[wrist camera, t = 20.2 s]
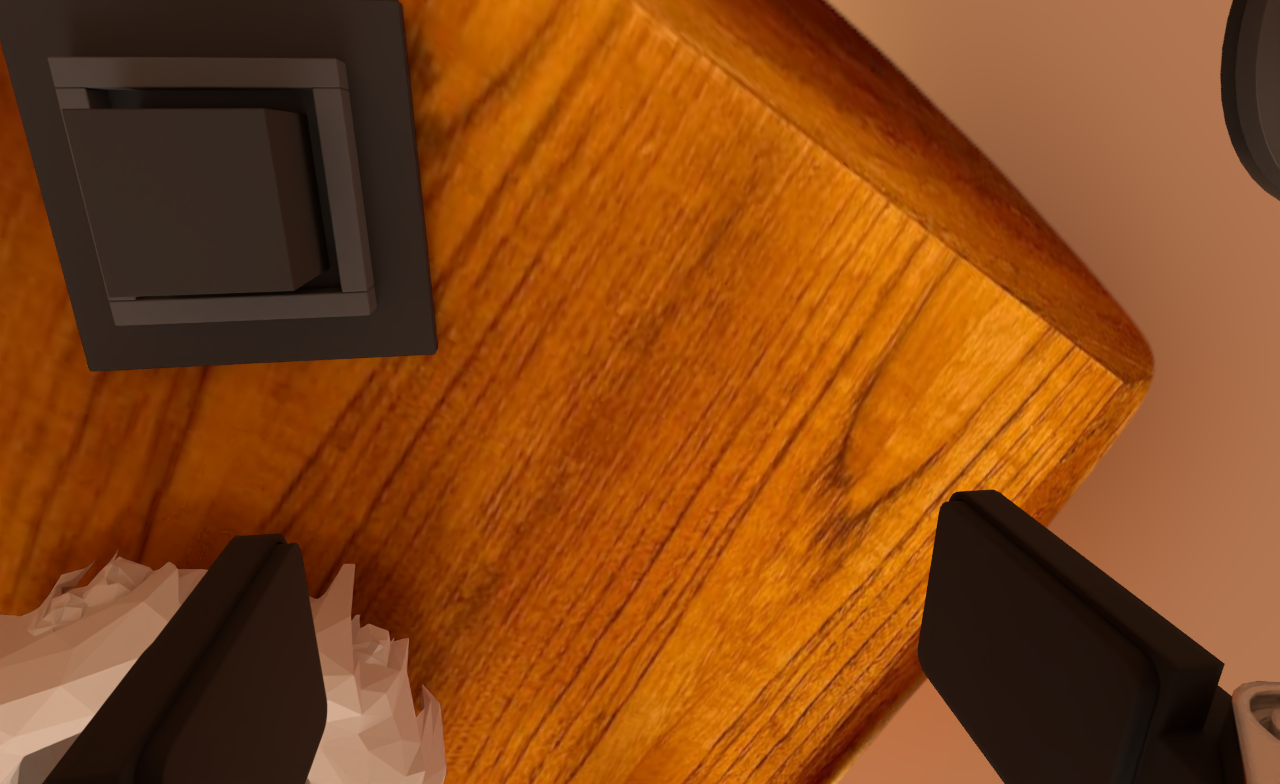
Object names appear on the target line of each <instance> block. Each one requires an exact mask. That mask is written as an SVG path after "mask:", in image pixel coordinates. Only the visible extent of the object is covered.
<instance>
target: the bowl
mask: <svg viewBox="0 0 1280 784" xmlns="http://www.w3.org/2000/svg"><path fill="white" fill-rule="evenodd" d="M117 554H118V551H117V552H116V554H115V555H114V556H113V558H112V559H111V561H110V562H109V563H108V564H107V565H106V566H105V567H104V568H103V569H102V570H101V571H100V572H99V573H98V574H97V575H96V577H95V578H94V579H93V580H92V581H91V582H90V583H89V584H88V585H87V586H83V587H79V588H74V589H71V590H69V591H67V592H65V593H63V594H62V592H64V591H66V590H68V589H70V588H72V587H74V586H76V585H77V584H78V582H79V581H80V580H81V579H82V577H83V576H84V575H85V574H86V572H87V571H88V570H89V568H90V567H91V566H92V564H93V563H94V562H95V561H93V562H92V563H91V564H90V565H89V566H88V567H86V568H84V569H80V570H76V571H73V572H69V573H65V574H62V575H61V577H60V578H59V580H58V581H57V583H56V585H55V586H54V588H53V589H52V591H51V593H50V594H49V596H48V597H47V598H46V599H45V601H44V602H43V603H42V604H41V605H40V607H39V608H37V609H36V610H34V611H32V612H30V613H27V614H25V615H23V616H14V615H0V784H42V783H43V782H44V780H45V779H46V778H47V776H48V775H49V774H50V773H51V771H52V770H53V769H54V767H55V766H56V765H57V763H58V762H59V761H60V760H61V758H62V757H63V756H64V754H65V753H66V752H67V750H68V749H69V748H70V747H71V745H72V744H73V743H74V741H75V740H76V739H77V737H78V736H79V735H80V734H81V732H82V731H83V730H84V728H85V727H86V726H87V724H88V723H89V722H90V721H91V719H92V718H93V717H94V715H95V714H96V713H97V711H98V710H99V709H100V708H101V706H102V705H103V704H104V702H105V701H106V700H107V698H108V697H109V696H110V695H111V693H112V692H113V691H114V689H115V688H116V687H117V685H118V684H119V683H120V682H121V680H122V679H123V678H124V676H125V675H126V674H127V672H128V671H129V670H130V669H131V667H132V666H133V665H134V663H135V662H136V661H137V659H138V658H139V657H140V656H141V654H142V653H143V652H144V651H145V650H146V649H147V648H148V647H149V646H150V645H151V644H152V643H153V642H154V640H155V639H156V638H157V636H158V635H159V634H160V632H161V631H162V630H163V629H164V627H165V626H166V625H167V623H168V622H169V621H170V619H171V618H172V617H173V615H174V614H175V613H176V612H177V610H178V609H179V608H180V606H181V605H182V604H183V602H184V601H185V600H186V598H187V597H188V596H189V595H190V593H191V592H192V591H193V589H194V588H195V587H196V585H197V584H198V583H199V581H200V580H201V579H202V578H203V576H204V575H205V574H206V572H207V571H208V570H205V569H177V567H176V566H175V565H174V564H173V563H171V562H167V563H166V564H165V565H164V566H163V567H161V568H160V569H158V570H154V571H153V570H152V569H151V568H150V567H148V566H145V565H142V564H139V563H136V562H133V561H130V560H127V559H124V558H122V557H120V556H119V557H118V558H117V559H116V557H117ZM115 559H116V560H115ZM354 574H355V564H343V566H342V567H341V569H340V571H339V572H338V574H337V576H336V577H335V579H334V580H333V582H332V584H331V585H330V587H329V588H328V590H327V592H326V593H325V594H324V595H322V596H321V597H320V598H318V599H315V598H313V597H310V596H309V598H310V604H311V610H312V616H313V622H314V627H315V633H316V639H317V645H318V651H319V657H320V662H321V668H322V674H323V680H324V686H325V692H326V697H327V721H326V726H325V730H324V733H323V736H322V739H321V741H320V744H319V747H318V750H317V752H316V755H315V758H314V761H313V764H312V766H311V769H310V772H309V775H308V777H307V780H306V783H305V784H443V783H444V779H445V775H446V758H445V748H444V738H443V728H442V718H441V708H440V703H439V702H438V700H437V699H436V698H435V697H434V696H433V695H432V694H431V693H430V692H429V691H428V690H427V689H426V688H425V686H424V685H423V684H422V692H421V712H420V714H419V715H418V716H417V717H416V715H415V710H414V705H413V700H412V695H411V689H410V684H409V679H408V674H407V662H408V646H409V638H403V639H400V640H397V641H394V638H395V637H394V638H393V640H392V641H391V642H390V636H389V631H387V630H385V629H382V628H379V627H377V626H374V625H371V624H367V625H365V626H364V627H362V628H360V615H355V617H354V618H353V620H352V621H351V610H352V598H353V586H354Z"/></svg>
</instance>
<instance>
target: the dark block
mask: <svg viewBox="0 0 1280 784" xmlns="http://www.w3.org/2000/svg"><path fill="white" fill-rule="evenodd" d="M62 113H63V117H64V121H65V125H66V129H67V133H68V137H69V141H70V145H71V149H72V153H73V157H74V161H75V165H76V168H77V172H78V176H79V180H80V184H81V188H82V192H83V196H84V200H85V204H86V208H87V212H88V216H89V220H90V224H91V228H92V232H93V236H94V240H95V244H96V248H97V252H98V256H99V260H100V264H101V268H102V272H103V276H104V280H105V284H106V288H107V292H108V296H109V297H110V298H114V297H141V296H168V295H196V294H223V293H250V292H278V291H294V290H296V289H297V288H299V287H301V286H302V285H304V284H305V283H307V282H308V281H310V280H312V279H313V278H315V277H316V276H318V275H319V274H321V273H323V272H324V271H326V270H327V269H329V261H328V254H327V247H326V241H325V234H324V227H323V220H322V214H321V207H320V200H319V194H318V187H317V180H316V173H315V167H314V160H313V153H312V147H311V140H310V133H309V127H308V120H307V115H306V114H301V113H294V112H287V111H280V110H273V109H265V108H142V109H62Z"/></svg>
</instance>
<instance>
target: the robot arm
mask: <svg viewBox="0 0 1280 784" xmlns="http://www.w3.org/2000/svg"><path fill="white" fill-rule="evenodd" d="M918 657H919V661H920V665H921V667H922V670H923V671H924V673H925V675H926V676H927V678H928V679H929V680H930V682H931V683H932V684H933V686H934V687H935V689H936V690H937V691H938V693H939V694H940V695H941V697H942V698H943V699H944V701H945V702H946V704H947V705H948V706H949V708H950V709H951V711H952V712H953V713H954V715H955V716H956V717H957V719H958V720H959V721H960V723H961V724H962V726H963V727H964V728H965V730H966V731H967V732H968V734H969V735H970V737H971V738H972V739H973V741H974V742H975V744H976V745H977V746H978V747H979V749H980V750H981V752H982V753H983V754H984V756H985V757H986V759H987V760H988V761H989V763H990V764H991V766H992V767H993V768H994V770H995V771H996V772H997V774H998V775H999V777H1000V778H1001V779H1002V781H1003V782H1004V783H1005V784H1280V683H1279V682H1266V681H1265V682H1264V681H1256V682H1250V683H1245V684H1242V685H1241V686H1239V687H1238V688H1237V689H1235V690H1234V692H1233V695H1232V696H1231V695H1229V694H1228V693H1227V692H1226V691H1224V690H1223V689H1222V688H1221V687H1219V686H1218V682H1219V679H1220V676H1221V673H1222V670H1223V667H1224V663H1223V662H1221V661H1220V660H1219V659H1217V658H1216V657H1215V656H1214V655H1212V654H1211V653H1210V652H1208V651H1207V650H1206V649H1204V648H1203V647H1202V646H1200V645H1199V644H1198V643H1196V642H1195V641H1194V640H1193V639H1191V638H1190V637H1189V636H1187V635H1186V634H1184V633H1183V632H1182V631H1181V630H1179V629H1178V628H1177V627H1175V626H1174V625H1173V624H1172V623H1170V622H1169V621H1168V620H1166V619H1165V618H1164V617H1162V616H1161V615H1160V614H1158V613H1157V612H1156V611H1154V610H1153V609H1152V608H1151V607H1149V606H1148V605H1146V604H1145V603H1144V602H1143V601H1141V600H1140V599H1138V598H1137V597H1136V596H1135V595H1133V594H1132V593H1131V592H1129V591H1128V590H1127V589H1126V588H1124V587H1123V586H1122V585H1120V584H1119V583H1117V582H1116V581H1115V580H1114V579H1112V578H1111V577H1109V576H1108V575H1107V574H1106V573H1104V572H1103V571H1102V570H1101V569H1099V568H1098V567H1097V566H1095V565H1094V564H1093V563H1091V562H1090V561H1089V560H1087V559H1086V558H1085V557H1083V556H1082V555H1081V554H1080V553H1078V552H1077V551H1076V550H1074V549H1073V548H1072V547H1070V546H1069V545H1068V544H1066V543H1065V542H1064V541H1063V540H1061V539H1060V538H1059V537H1057V536H1056V535H1054V534H1053V533H1052V532H1051V531H1049V530H1048V529H1047V528H1045V527H1044V526H1043V525H1041V524H1040V523H1039V522H1038V521H1036V520H1035V519H1034V518H1032V517H1031V516H1030V515H1028V514H1027V513H1026V512H1024V511H1023V510H1022V509H1020V508H1019V507H1018V506H1017V505H1015V504H1014V503H1013V502H1011V501H1010V500H1009V499H1007V498H1006V497H1005V496H1003V495H1002V494H1001V493H999V492H997V491H995V490H978V491H962V492H956V493H954V494H953V495H952V496H951V498H950V499H949V502H945V503H943V504H942V506H941V507H940V511H939V516H938V523H937V529H936V535H935V542H934V548H933V554H932V561H931V567H930V573H929V580H928V586H927V593H926V599H925V605H924V612H923V618H922V624H921V631H920V637H919V644H918ZM326 721H327V697H326V692H325V686H324V680H323V674H322V668H321V662H320V657H319V651H318V645H317V639H316V633H315V627H314V622H313V616H312V610H311V604H310V598H309V593H308V587H307V581H306V575H305V569H304V563H303V558H302V553H301V549H300V547H299V545H298V544H297V543H290V544H287V541H286V539H285V537H284V536H283V535H282V534H265V535H249V536H236V537H234V538H233V539H232V540H231V541H230V542H229V544H228V545H227V546H226V547H225V549H224V550H223V551H222V553H221V554H220V555H219V557H218V558H217V559H216V561H215V562H214V563H213V564H212V566H211V567H210V568H209V570H208V571H207V572H206V574H205V575H204V576H203V578H202V579H201V580H200V581H199V583H198V584H197V585H196V587H195V588H194V589H193V591H192V592H191V593H190V595H189V596H188V597H187V598H186V600H185V601H184V602H183V604H182V605H181V606H180V608H179V609H178V610H177V612H176V613H175V614H174V615H173V617H172V618H171V619H170V621H169V622H168V623H167V625H166V626H165V627H164V629H163V630H162V631H161V632H160V634H159V635H158V636H157V638H156V639H155V640H154V642H153V643H152V644H151V645H150V646H149V647H148V648H147V649H146V650H145V651H144V652H143V653H142V654H141V656H140V657H139V658H138V659H137V661H136V662H135V663H134V665H133V666H132V667H131V669H130V670H129V671H128V672H127V674H126V675H125V676H124V678H123V679H122V680H121V682H120V683H119V684H118V685H117V687H116V688H115V689H114V691H113V692H112V693H111V695H110V696H109V697H108V698H107V700H106V701H105V702H104V704H103V705H102V706H101V708H100V709H99V710H98V711H97V713H96V714H95V715H94V717H93V718H92V719H91V721H90V722H89V723H88V724H87V726H86V727H85V728H84V730H83V731H82V732H81V734H80V735H79V736H78V737H77V739H76V740H75V741H74V743H73V744H72V745H71V747H70V748H69V749H68V750H67V752H66V753H65V754H64V756H63V757H62V758H61V760H60V761H59V762H58V763H57V765H56V766H55V767H54V769H53V770H52V771H51V773H50V774H49V775H48V776H47V778H46V779H45V780H44V782H43V783H42V784H305V783H306V780H307V777H308V775H309V772H310V769H311V766H312V764H313V761H314V758H315V755H316V752H317V750H318V747H319V744H320V741H321V739H322V736H323V733H324V730H325V726H326Z"/></svg>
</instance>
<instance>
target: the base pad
mask: <svg viewBox="0 0 1280 784" xmlns="http://www.w3.org/2000/svg"><path fill="white" fill-rule="evenodd" d="M0 41H1V45H2V49H3V52H4V56H5V60H6V63H7V67H8V71H9V74H10V78H11V82H12V86H13V89H14V93H15V97H16V100H17V104H18V108H19V112H20V115H21V119H22V123H23V126H24V130H25V134H26V137H27V141H28V145H29V149H30V152H31V156H32V160H33V163H34V167H35V171H36V175H37V178H38V182H39V186H40V189H41V193H42V197H43V200H44V204H45V208H46V212H47V215H48V219H49V223H50V226H51V230H52V234H53V238H54V241H55V245H56V249H57V252H58V256H59V260H60V264H61V267H62V271H63V275H64V278H65V282H66V286H67V289H68V293H69V297H70V301H71V304H72V308H73V312H74V315H75V319H76V323H77V327H78V330H79V334H80V338H81V341H82V345H83V349H84V352H85V356H86V360H87V364H88V367H89V370H90V371H111V370H131V369H151V368H171V367H191V366H211V365H231V364H251V363H271V362H291V361H311V360H332V359H352V358H372V357H392V356H412V355H432V354H435V353H436V351H437V348H438V344H437V335H436V325H435V316H434V306H433V296H432V287H431V277H430V268H429V258H428V249H427V239H426V229H425V220H424V210H423V201H422V191H421V182H420V172H419V162H418V153H417V143H416V134H415V124H414V115H413V105H412V95H411V86H410V76H409V67H408V57H407V48H406V38H405V28H404V19H403V9H402V5H401V3H400V2H399V1H398V0H0ZM142 108H265V109H273V110H280V111H287V112H294V113H301V114H306V115H307V120H308V127H309V133H310V140H311V147H312V153H313V160H314V167H315V173H316V180H317V187H318V194H319V200H320V207H321V214H322V220H323V227H324V234H325V241H326V247H327V254H328V261H329V269H327V270H326V271H324V272H323V273H321V274H319V275H318V276H316V277H315V278H313V279H312V280H310V281H308V282H307V283H305V284H304V285H302V286H301V287H299V288H297V289H296V290H294V291H278V292H250V293H223V294H196V295H168V296H141V297H114V298H110V297H109V296H108V292H107V288H106V284H105V280H104V276H103V272H102V268H101V264H100V260H99V256H98V252H97V248H96V244H95V240H94V236H93V232H92V228H91V224H90V220H89V216H88V212H87V208H86V204H85V200H84V196H83V192H82V188H81V184H80V180H79V176H78V172H77V168H76V165H75V161H74V157H73V153H72V149H71V145H70V141H69V137H68V133H67V129H66V125H65V121H64V117H63V113H62V109H142Z"/></svg>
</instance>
